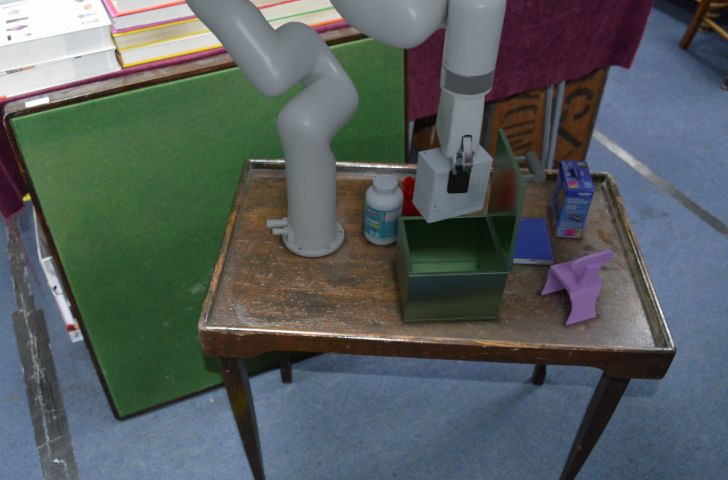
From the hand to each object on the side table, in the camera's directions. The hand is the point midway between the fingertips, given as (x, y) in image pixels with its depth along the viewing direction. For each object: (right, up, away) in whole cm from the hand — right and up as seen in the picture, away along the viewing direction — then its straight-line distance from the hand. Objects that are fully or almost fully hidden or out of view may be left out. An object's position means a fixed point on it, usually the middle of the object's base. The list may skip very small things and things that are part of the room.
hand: (452, 176), depth 108 cm
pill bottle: (-9, -8, +28) cm, 30 cm away
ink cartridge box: (+29, -5, +30) cm, 42 cm away
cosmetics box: (0, -5, +5) cm, 7 cm away
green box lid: (+9, -4, +1) cm, 9 cm away
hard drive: (+20, -10, +25) cm, 34 cm away
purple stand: (+23, -21, +13) cm, 34 cm away
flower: (-2, -3, +32) cm, 32 cm away
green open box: (+1, -19, +16) cm, 25 cm away
